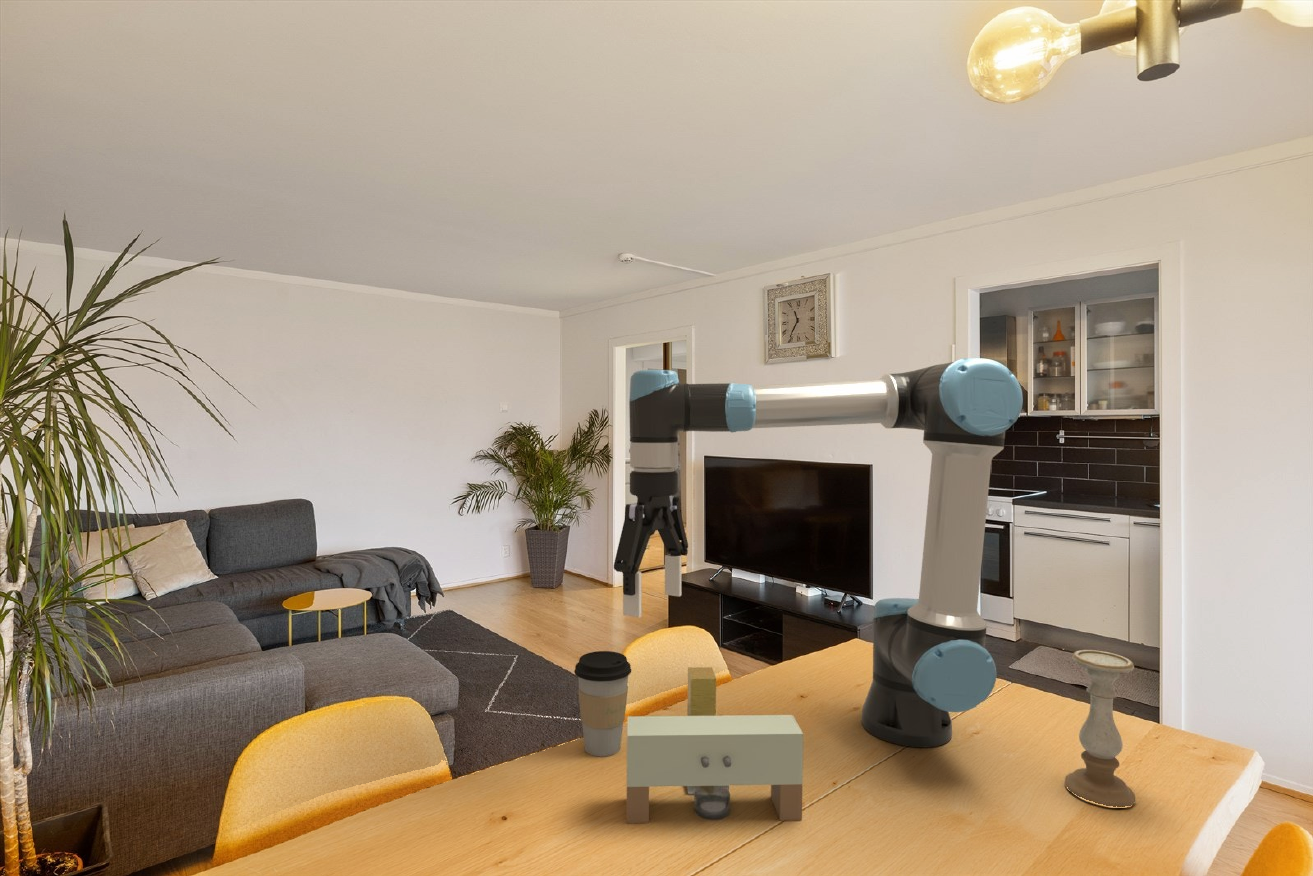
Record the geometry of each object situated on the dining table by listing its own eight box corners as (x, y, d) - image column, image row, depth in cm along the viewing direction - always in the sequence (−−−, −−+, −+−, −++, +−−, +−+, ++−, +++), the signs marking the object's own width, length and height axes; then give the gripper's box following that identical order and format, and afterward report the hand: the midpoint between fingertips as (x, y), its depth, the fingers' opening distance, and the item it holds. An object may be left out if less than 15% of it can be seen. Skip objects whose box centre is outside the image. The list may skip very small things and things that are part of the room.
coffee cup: (622, 765, 109) (623, 671, 108) (565, 758, 110) (566, 666, 110) (636, 738, 118) (637, 651, 117) (583, 732, 120) (584, 647, 119)
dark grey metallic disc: (727, 800, 99) (727, 784, 99) (732, 821, 94) (732, 803, 94) (692, 801, 99) (692, 784, 99) (696, 821, 94) (696, 804, 94)
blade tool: (716, 751, 113) (718, 667, 113) (728, 793, 100) (730, 699, 100) (680, 751, 113) (681, 667, 113) (688, 794, 100) (689, 699, 100)
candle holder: (1124, 784, 104) (1127, 652, 104) (1144, 815, 96) (1148, 671, 95) (1058, 774, 107) (1061, 645, 107) (1072, 803, 99) (1076, 664, 98)
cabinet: (791, 796, 100) (792, 715, 100) (803, 824, 93) (805, 737, 93) (626, 799, 99) (627, 716, 98) (626, 827, 92) (627, 739, 92)
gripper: (668, 464, 120) (668, 585, 120) (589, 474, 98) (589, 622, 98) (707, 465, 116) (707, 590, 117) (635, 476, 94) (635, 629, 95)
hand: (653, 605), depth 107 cm, fingers open, 13 cm apart
